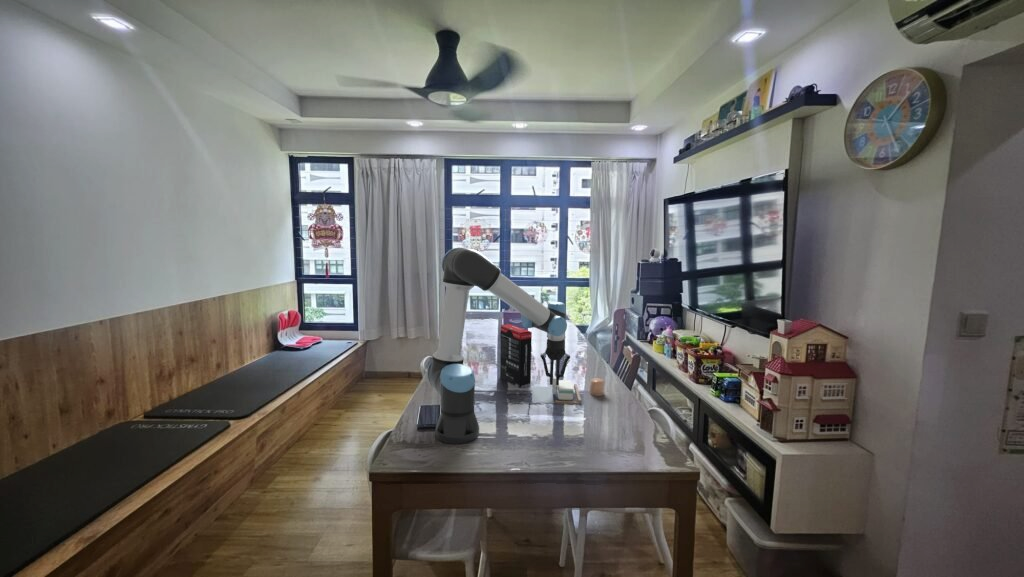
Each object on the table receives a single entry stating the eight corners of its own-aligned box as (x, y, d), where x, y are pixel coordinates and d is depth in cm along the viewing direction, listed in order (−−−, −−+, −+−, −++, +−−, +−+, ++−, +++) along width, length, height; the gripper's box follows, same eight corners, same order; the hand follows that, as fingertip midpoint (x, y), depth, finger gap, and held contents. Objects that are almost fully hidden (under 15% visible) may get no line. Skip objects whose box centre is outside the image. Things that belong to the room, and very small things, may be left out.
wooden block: (605, 396, 180) (605, 383, 180) (591, 396, 180) (592, 383, 179) (602, 390, 186) (602, 378, 185) (588, 390, 186) (589, 378, 185)
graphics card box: (531, 389, 187) (533, 330, 183) (519, 392, 183) (520, 332, 179) (510, 377, 201) (511, 323, 197) (498, 380, 197) (499, 324, 193)
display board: (580, 407, 168) (581, 400, 167) (531, 405, 169) (532, 398, 168) (576, 390, 186) (576, 384, 185) (531, 389, 187) (532, 382, 186)
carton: (573, 400, 172) (573, 389, 171) (558, 399, 172) (558, 388, 172) (571, 391, 182) (571, 380, 181) (556, 390, 182) (557, 379, 182)
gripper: (570, 336, 177) (568, 389, 180) (540, 335, 178) (538, 388, 181) (572, 341, 170) (569, 395, 173) (540, 340, 170) (538, 394, 174)
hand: (553, 391), depth 177 cm, fingers closed
